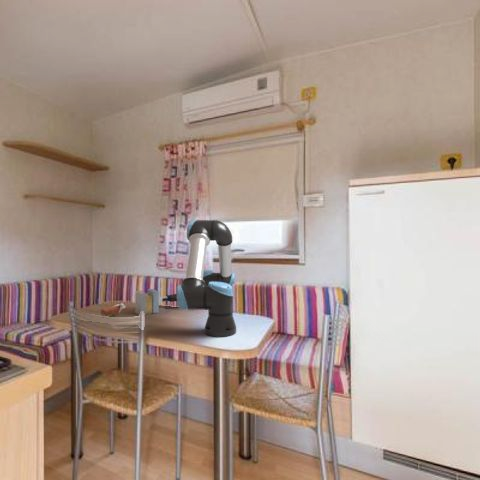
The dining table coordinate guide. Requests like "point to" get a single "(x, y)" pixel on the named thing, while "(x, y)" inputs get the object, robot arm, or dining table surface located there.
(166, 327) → the dining table surface
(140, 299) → the vise
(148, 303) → the block
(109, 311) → the bull figurine
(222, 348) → the dining table surface
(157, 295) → the free jaw
